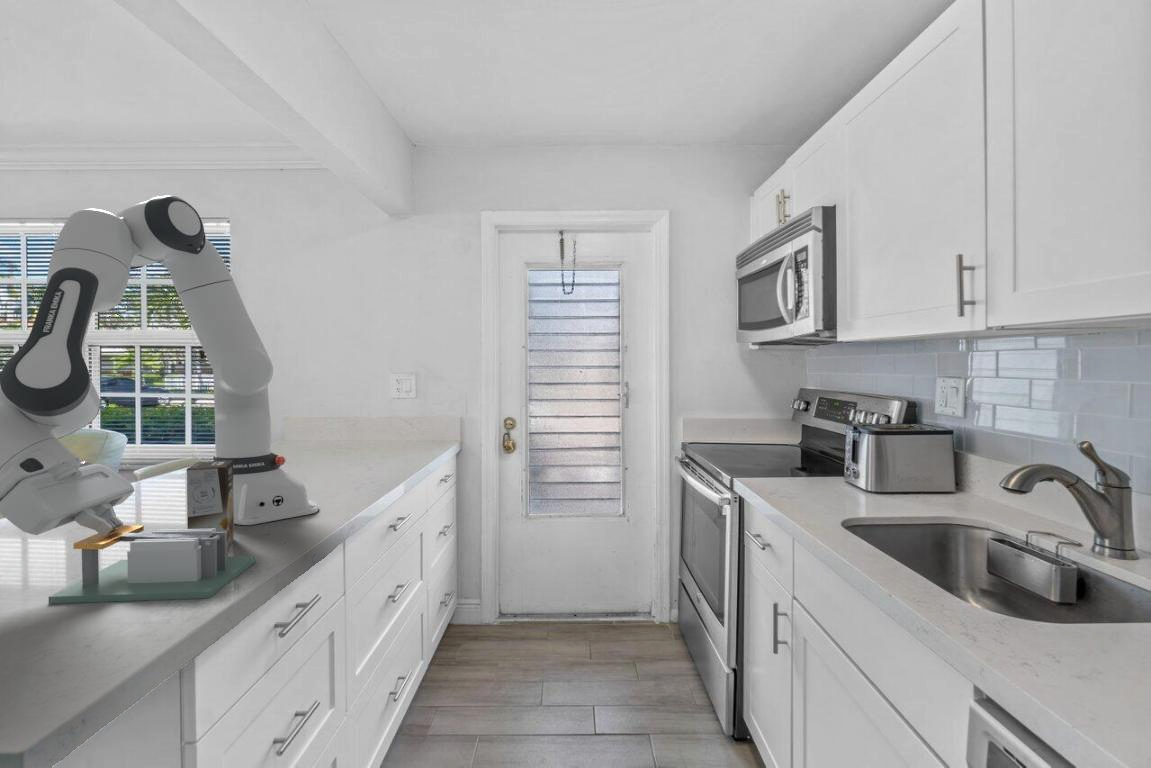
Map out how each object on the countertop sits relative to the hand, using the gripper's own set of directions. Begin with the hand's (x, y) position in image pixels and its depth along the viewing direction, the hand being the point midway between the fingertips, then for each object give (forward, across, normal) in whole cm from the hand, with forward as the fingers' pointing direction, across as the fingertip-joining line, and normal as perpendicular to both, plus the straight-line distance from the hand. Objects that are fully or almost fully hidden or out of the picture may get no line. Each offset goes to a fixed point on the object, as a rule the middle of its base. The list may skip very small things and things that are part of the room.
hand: (114, 530), depth 93 cm
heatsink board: (+11, 0, -1) cm, 11 cm away
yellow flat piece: (+5, 0, +3) cm, 6 cm away
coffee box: (+11, -17, -2) cm, 20 cm away
